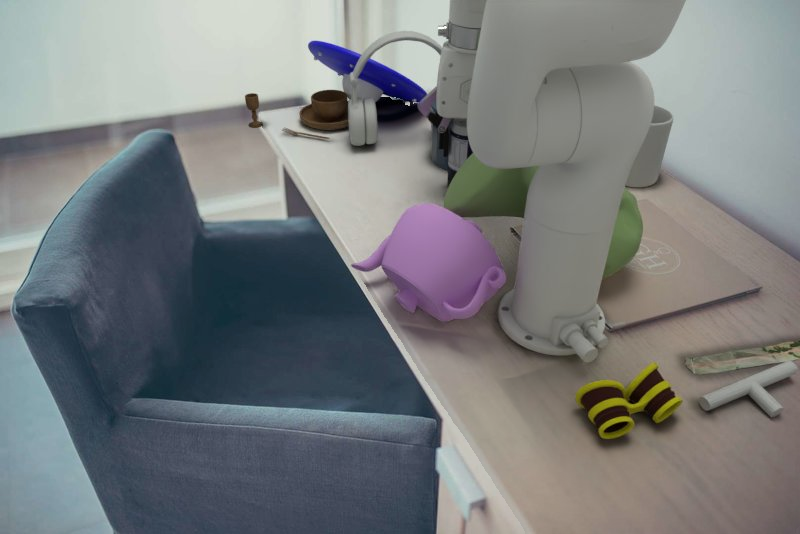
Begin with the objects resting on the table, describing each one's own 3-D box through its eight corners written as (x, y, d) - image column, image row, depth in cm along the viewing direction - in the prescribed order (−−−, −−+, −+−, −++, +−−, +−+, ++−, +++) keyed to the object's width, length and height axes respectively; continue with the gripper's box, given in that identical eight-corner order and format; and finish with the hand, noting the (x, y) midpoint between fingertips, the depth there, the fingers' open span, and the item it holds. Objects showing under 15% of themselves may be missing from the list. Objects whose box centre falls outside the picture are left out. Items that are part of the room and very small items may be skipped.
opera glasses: (596, 450, 63) (612, 424, 60) (568, 405, 67) (581, 378, 63) (675, 422, 66) (694, 396, 63) (644, 380, 70) (661, 353, 66)
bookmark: (681, 360, 73) (682, 357, 72) (844, 334, 76) (846, 331, 76) (694, 377, 70) (695, 374, 70) (862, 350, 74) (864, 347, 73)
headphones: (351, 154, 113) (346, 43, 102) (348, 134, 120) (343, 28, 109) (462, 148, 115) (469, 38, 104) (453, 128, 122) (459, 24, 111)
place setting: (339, 142, 117) (336, 111, 113) (244, 128, 123) (239, 98, 119) (375, 107, 130) (374, 79, 127) (288, 96, 136) (285, 69, 133)
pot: (501, 165, 110) (506, 113, 105) (446, 176, 107) (449, 123, 102) (473, 141, 118) (477, 91, 112) (421, 150, 115) (423, 99, 109)
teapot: (502, 222, 67) (429, 306, 65) (538, 292, 76) (475, 368, 74) (385, 171, 81) (322, 239, 78) (428, 235, 90) (373, 297, 88)
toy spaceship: (288, 36, 127) (275, 70, 128) (350, 43, 108) (334, 83, 108) (384, 89, 142) (371, 119, 143) (452, 103, 123) (438, 138, 124)
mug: (639, 161, 112) (654, 100, 105) (667, 184, 105) (685, 121, 99) (576, 169, 109) (588, 107, 103) (601, 193, 103) (615, 129, 96)
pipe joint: (697, 402, 67) (728, 436, 64) (701, 394, 66) (733, 428, 63) (783, 366, 71) (817, 397, 68) (788, 358, 70) (823, 389, 67)
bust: (450, 144, 87) (584, 239, 94) (429, 222, 77) (581, 321, 84) (521, 75, 77) (664, 187, 84) (507, 154, 67) (670, 274, 74)
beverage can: (480, 202, 100) (486, 130, 93) (444, 198, 101) (447, 127, 94) (483, 184, 105) (490, 115, 98) (449, 181, 106) (453, 112, 99)
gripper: (412, 42, 86) (410, 164, 96) (542, 43, 85) (526, 165, 96) (413, 26, 92) (411, 142, 102) (534, 27, 91) (520, 143, 102)
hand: (467, 152), depth 99 cm, fingers open, 6 cm apart
